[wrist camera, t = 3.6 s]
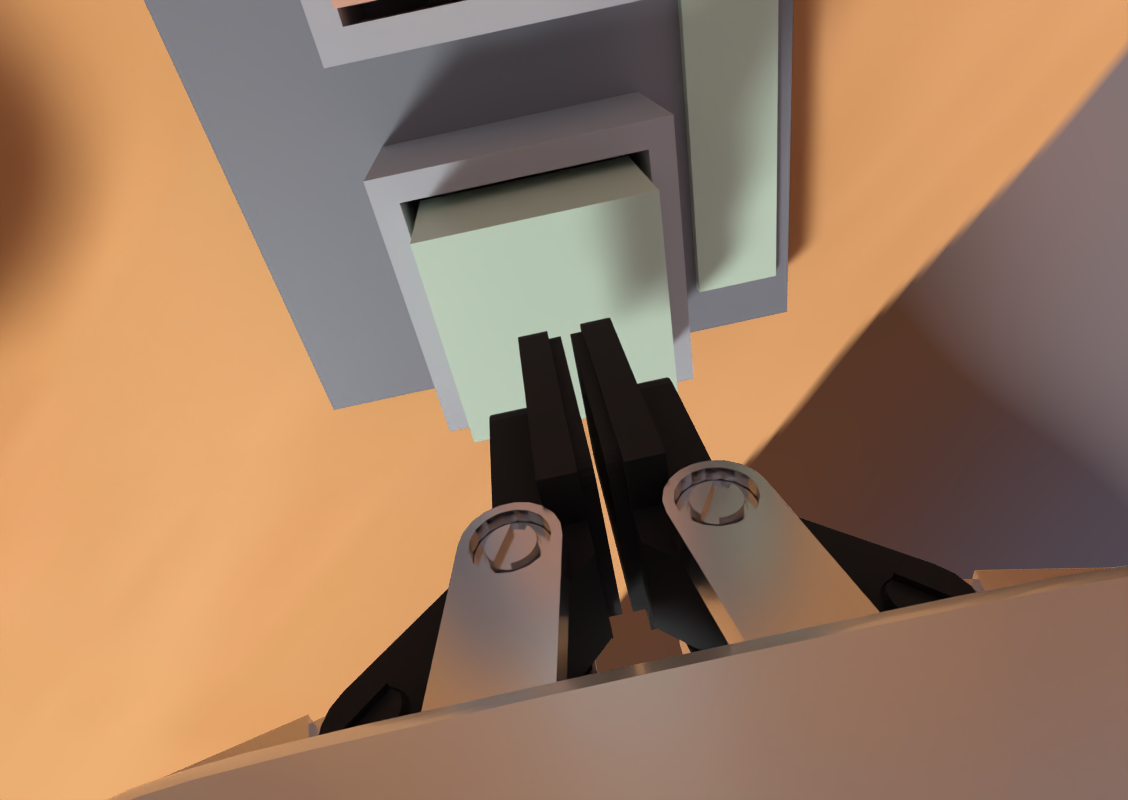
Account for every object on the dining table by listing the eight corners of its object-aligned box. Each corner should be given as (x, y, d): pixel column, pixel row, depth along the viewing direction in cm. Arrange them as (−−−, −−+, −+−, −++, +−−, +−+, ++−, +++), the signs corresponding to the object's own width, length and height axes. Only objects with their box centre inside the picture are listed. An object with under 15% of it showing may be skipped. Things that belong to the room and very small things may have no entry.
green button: (420, 201, 15) (409, 243, 13) (628, 155, 15) (658, 190, 13) (473, 378, 18) (474, 442, 15) (649, 340, 18) (678, 397, 15)
